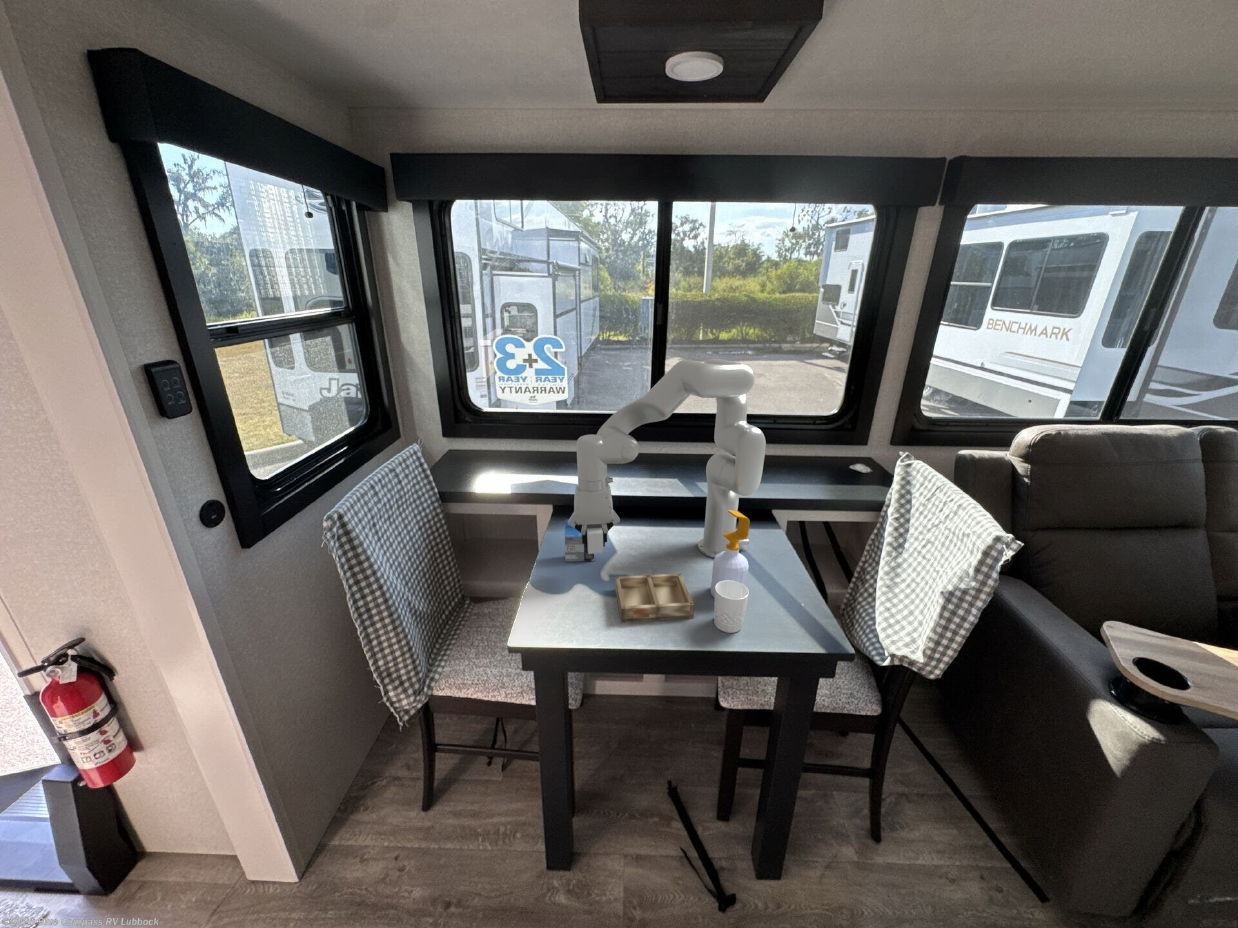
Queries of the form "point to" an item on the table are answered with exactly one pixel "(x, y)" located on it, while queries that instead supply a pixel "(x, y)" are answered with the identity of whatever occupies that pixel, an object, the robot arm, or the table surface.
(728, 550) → the spray bottle
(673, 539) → the table surface
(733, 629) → the white cup
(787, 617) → the table surface
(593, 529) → the grey banded white block
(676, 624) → the table surface
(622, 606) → the wooden compartment tray
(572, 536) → the label tape box
